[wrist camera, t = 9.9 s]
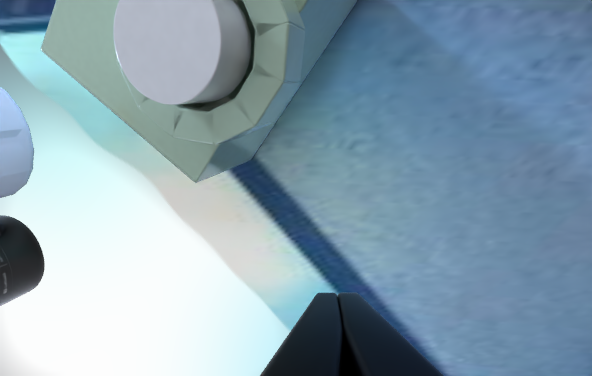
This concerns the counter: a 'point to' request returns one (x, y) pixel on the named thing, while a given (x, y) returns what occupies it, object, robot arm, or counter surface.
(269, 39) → the push button box
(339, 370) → the robot arm
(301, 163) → the counter surface
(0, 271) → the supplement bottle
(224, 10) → the flush button
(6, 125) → the soap bottle
